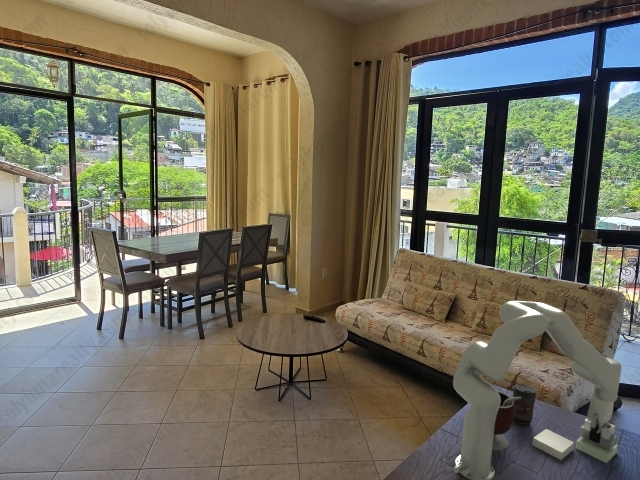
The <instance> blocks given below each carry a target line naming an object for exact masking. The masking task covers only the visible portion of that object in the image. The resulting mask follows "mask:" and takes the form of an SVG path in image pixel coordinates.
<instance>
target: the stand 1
mask: <svg viewBox="0 0 640 480" xmlns="http://www.w3.org/2000/svg"><path fill="white" fill-rule="evenodd" d="M532 439H533V440H532V446H534V447H535V448H537V449H539V450H541V451H543V452H544V453H546V454H548V455H550V456H552V457H554V458H555V459H558V460H560V461H563V459H564V458H565V457H567V456H568V455H569V454H570V453H571V452H573V450H574V446H575V442H574V441H572V440H570V439H568V438H566V437H563V436H562V435H559V434H558V433H557V432H553V431H552V430H549V429H547V428H545V429H543V430H542V431H541V432H540V433H538V434H537V435H535V436H533V438H532Z"/></svg>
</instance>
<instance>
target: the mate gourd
mask: <svg viewBox="0 0 640 480" xmlns="http://www.w3.org/2000/svg"><path fill="white" fill-rule="evenodd" d="M497 391H498V393H499V395H500V398H501V403H500V406H499V409H498V412H497V415H496V420H495V426H494V436H493V446H492V451H498V452H500V451H503V450H504V451H505V450H506V449H508V448H509V440H508V438H507V436H505V435H504V434H506V433H507V432H509V431H510V430H511V428H512V425H513V424H514V423H513V420H514V413H515V412H514V401H515V400H518V399H521V397H513V396H512V397H511V396H510V395H508V394H507V393H505V392H502V391H500V390H497Z"/></svg>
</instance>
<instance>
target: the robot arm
mask: <svg viewBox="0 0 640 480" xmlns="http://www.w3.org/2000/svg"><path fill="white" fill-rule="evenodd" d="M498 315H499V318H500V320H501V322H503V324H501V325H499V326H498V327H497V328H496V329H495V330H494V332H493V334H492V335H491V337H490V339H489V340H488V343H487V342H485V341H481V340H476V341H474V342H471V343H470V344H468V345H467V347H466V348H465V350H464V351H463V353H462V355H461V358H460V360H459V363H458V366H457V368H456V371H455V372H454V376H453V379H452V380H453V381H452V385H453V388H454V390H455V391H456V393H457V394H458V395H459V396H461V398H463V400H464V401H466V402H467V403H468V405H469V409H468V410H466V412H465V414H464V417H463V429H462V439H461V446H460V447H461V449H460V454H459V455H458V456H457V457H456V458H455V461H454V462H455V463H454V465H455V466H454V467H453V468H452V470H453V472H454V473H455V474H458V473H459V474H460V475H462V476H463V477H464V478H466V479H468V480H493V479H494V477H495V474H496V473H495V472H496V471H495V468H494V466H493V465H492V463H491V462H492V455H493V454H492V453H493V450H492V446H493V436H494V426H495V420H496V415H497V412H498V409H499V406H500V403H501V398H500V395H499V393H498V391H499V390H497V389H496V387H494V385H492V384H491V383H490V382H489V381H487V380H486V379H485V378H483V377H482V376H481V375H483V376H484V377H486V378H487V379H488V380H490V381H493V382H502V381H503V380H504V379H505V378H506V376H507V374H508V373H509V371H510V368H511V365H512V363H513V362H514V358H515V356H516V354H517V352H518V349H519V348H520V346H521V345H522V344H523V343H524V342H526V341H528V340H529V339H532V338H534V337H538V336H540V335H542V334H543V333H545V332H546V333H547V334H548V335H549V337H550V338H551V339H552V340H553V342H554V344H555V345H556V346H557V348H558V349H559V351H561V353H562V354H564V355H565V356H566V357H567V358H569V359H570V360H571V361H572V362H571V365H570V366H571V370H572V372H573V373H574V375H576V376H577V377H579V378H580V379H582V380H584V381H585V382H588V383H590V384H591V385H592V386H591V387H592V388H591V395H592V397H591V399H590V404H589V409H588V412H587V417H586V418H587V420H588V421H591V420H592V422H591V424H590V434H589V439H590V440H591V441H594V442H596V443H599V442H600V435H601V433H600V430H601V426H603V425H605V424H606V423H607V422H608V423H609V422H610V420H611V418H612V416H613V411H614V403H615V402H616V401H617V399H618V392H619V387H620V386H619V385H620V380H621V375H622V364H621V363H620V362H619V361H618V360H615V359H613V358H611V357H606V356H604V355H603V354H602V353H601V352H599V351H598V350H597V349H596V348H595V347H594V346H593V345H592V344H591V343H590V342H589V341H587V340H586V339H585V338H584V337H583V335H582V333H581V332H580V330H579V329H578V328H577V326H576V325H575V323H574V321H573V320H572V319H571V317H570V316H569V315H568V314H567V313H566V312H565V311H563V310H561V309H559V308H557V307H554V306H551V305H549V304H546V303H544V302H538V301H524V300H523V301H522V300H509V301H506V302H504V303H503V304H502V305H501V306H500V308H499V312H498ZM597 422H599V423H600V424H598V423H597ZM596 425H597V426H598V428H597V427H596Z"/></svg>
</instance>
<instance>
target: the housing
mask: <svg viewBox="0 0 640 480" xmlns="http://www.w3.org/2000/svg"><path fill="white" fill-rule="evenodd" d="M591 422H592V420H591V421H588V420H587V417H586V418H585V419H584V422H583V425H581V426H580V428H579V434H578V436H579V437H583V438H585V439H587V440H589V441H591V440H590V439H589V434H590V424H591ZM597 423H598V424H600V423H599V422H597ZM596 427H597V428H598V426H597V425H596ZM615 431H616V425H614V424H612V423H611V422H609V421H608V422H607V423H606V424H605V425H603V426H601V430H600V433H601V435H600V442H599V443H596V442H594V441H591V442H593V443H595V444H598V445H600V446H602V447H604V448H606V449H608V450H611V449H612V448H613V447H614V446H615V445H617V440H618V435H616V434H615Z"/></svg>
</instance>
